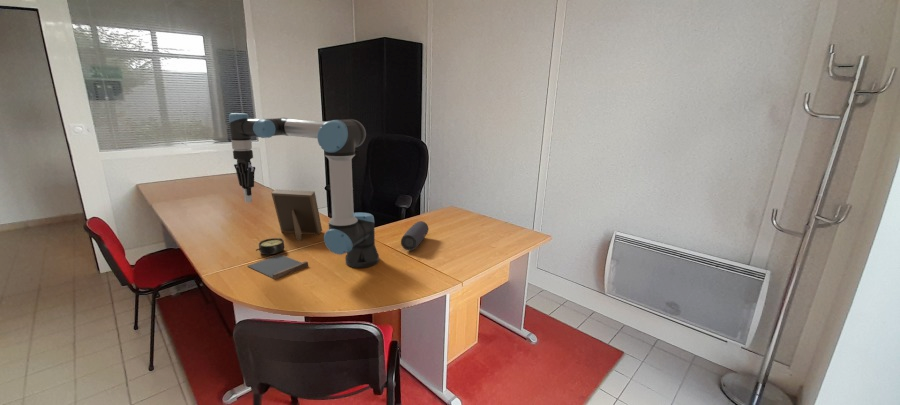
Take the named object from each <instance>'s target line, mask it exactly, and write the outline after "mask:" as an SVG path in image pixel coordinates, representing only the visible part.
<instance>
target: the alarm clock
mask: <svg viewBox="0 0 900 405" xmlns="http://www.w3.org/2000/svg"><path fill="white" fill-rule="evenodd" d="M284 250H285V242H284V240H283V238H280V237H279V238H276V237H275V238H268V239H267V238H266V239H263V240H261V241H260V242H259V243H258V248H257V249H255V251H256V252H257V251H258V252H260V253H261V254H263V255H265V257H266V258H267V257H268V256H269V255H275V254H279V253H280V252H282V251H284Z"/></svg>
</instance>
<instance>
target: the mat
mask: <svg viewBox="0 0 900 405" xmlns="http://www.w3.org/2000/svg"><path fill="white" fill-rule="evenodd" d="M300 263H302V262H300V261H298V260H296V259H293V258H291V257H289V256H286V255H283V254H277V255H274V256H271V257H269V258H266V259H263V260H260V261H257V262H255V263H252V264H249V265H247V267H248V268H249V269H252V270H254V271H256V272H258V273H260V274H262V275H265V276H267V277H269V278H271V279H273V275H272V274H274V273H276V272H279V271H281V270H284V269H287V268H289V267H292V266H294V265H297V264H300Z"/></svg>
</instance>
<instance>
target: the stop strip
mask: <svg viewBox="0 0 900 405" xmlns="http://www.w3.org/2000/svg"><path fill="white" fill-rule="evenodd" d="M307 267H309V262H308V261H306V260H305V261H303V262H301V263H300V264H297V265H294V266H292V267H289V268H287V269H284V270H281V271H279V272H276V273H274V274H272V275H273V278H272V279H273V280H277V279H279V278H282V277H284V276H287V275H290V274H291V273H295V272H296V271H300V270H302V269H304V268H307Z"/></svg>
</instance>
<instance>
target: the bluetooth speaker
mask: <svg viewBox="0 0 900 405" xmlns="http://www.w3.org/2000/svg"><path fill="white" fill-rule="evenodd" d="M428 232H429V225H428V224H427V223H426V222H425V221H423V220H422V221H421V220H419V221H416V222H415V223H413V225H412V226H410V228H408V230H406V232H405V233H404V235H403V236H402V237H401V240H400V245H401V247H402V248H403V249H404V250H405V251H414V250H415V249H416V248H418V246H419V245H420V244H421V243H422V242H423V240H424V239H426V238H425V237H427V235H428Z"/></svg>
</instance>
